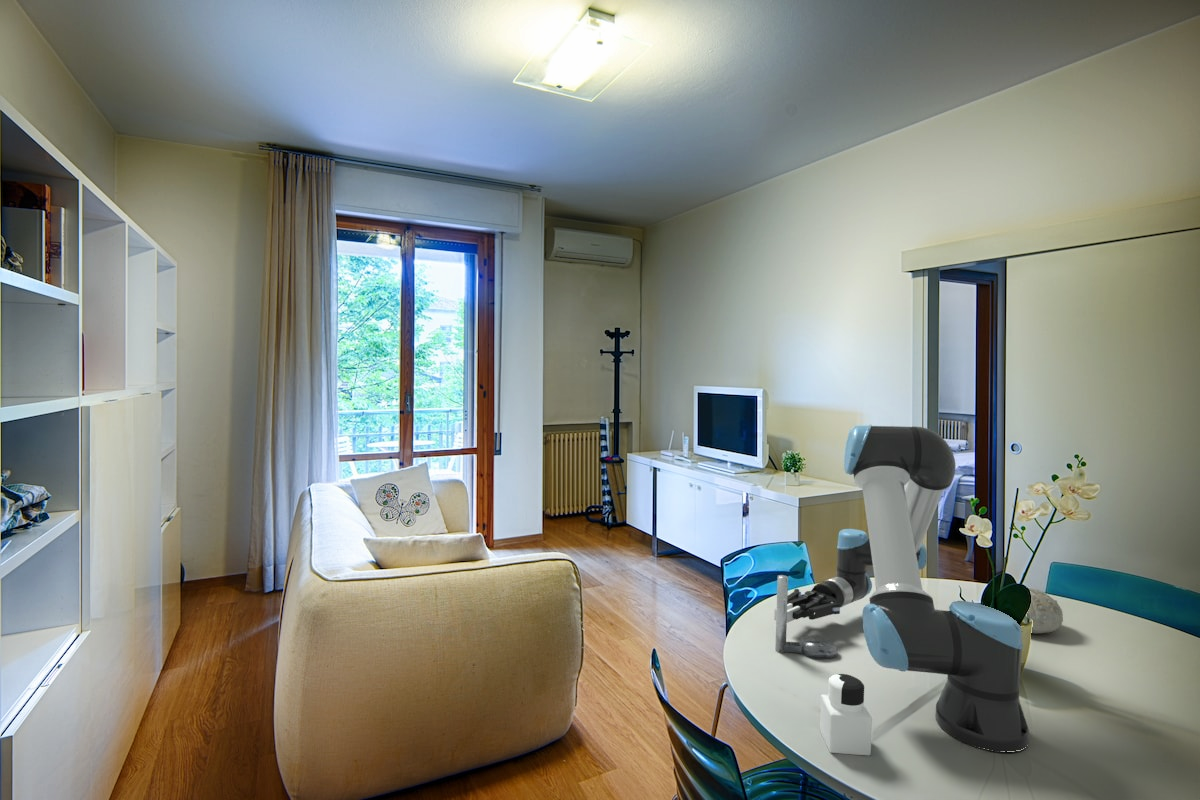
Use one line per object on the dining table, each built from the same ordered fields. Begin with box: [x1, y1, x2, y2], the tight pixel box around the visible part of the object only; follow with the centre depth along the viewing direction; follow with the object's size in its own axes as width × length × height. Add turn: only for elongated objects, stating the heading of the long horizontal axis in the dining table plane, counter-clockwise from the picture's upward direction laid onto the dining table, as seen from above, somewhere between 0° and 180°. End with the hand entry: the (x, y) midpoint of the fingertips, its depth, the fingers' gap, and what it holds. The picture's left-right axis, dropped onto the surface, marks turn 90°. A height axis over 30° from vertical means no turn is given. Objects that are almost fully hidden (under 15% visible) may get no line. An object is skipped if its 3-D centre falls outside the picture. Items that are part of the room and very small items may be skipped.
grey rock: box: [1027, 587, 1064, 634], centre depth 163 cm, size 18×18×10 cm
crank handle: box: [775, 574, 838, 660], centre depth 143 cm, size 14×7×18 cm, turn 85°
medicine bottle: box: [819, 673, 873, 756], centre depth 110 cm, size 7×7×12 cm
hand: (779, 616), depth 145 cm, fingers closed
